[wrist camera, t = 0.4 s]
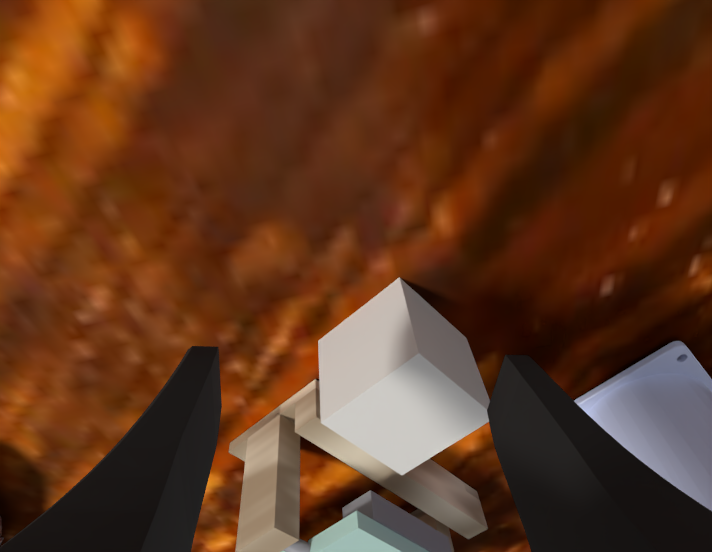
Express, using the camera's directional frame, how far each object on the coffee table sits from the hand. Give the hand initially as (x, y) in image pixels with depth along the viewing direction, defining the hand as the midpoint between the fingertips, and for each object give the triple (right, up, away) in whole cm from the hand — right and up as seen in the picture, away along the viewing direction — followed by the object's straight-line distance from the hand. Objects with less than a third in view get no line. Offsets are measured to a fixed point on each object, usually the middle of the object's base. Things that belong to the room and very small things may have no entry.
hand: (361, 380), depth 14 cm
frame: (0, -9, +17) cm, 19 cm away
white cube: (+2, 0, +12) cm, 12 cm away
